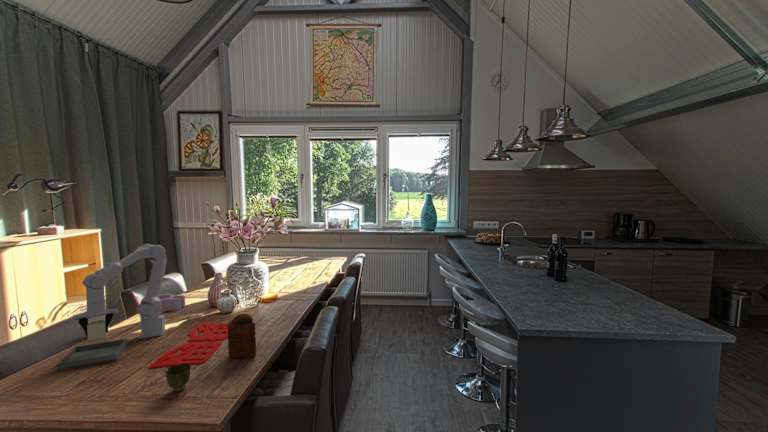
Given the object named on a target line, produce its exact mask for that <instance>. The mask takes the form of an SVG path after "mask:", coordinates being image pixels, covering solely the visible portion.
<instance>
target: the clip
mask: <svg viewBox="0 0 768 432" xmlns="http://www.w3.org/2000/svg"><path fill="white" fill-rule="evenodd" d="M159 298H160V300H161V307H162V311H161V312H167V311H172V312H173V311H175V312H176V311H179V310H182V308H186V295H184V294H177V295H176V294H171V293H165V294H159Z"/></svg>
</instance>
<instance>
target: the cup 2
mask: <svg viewBox="0 0 768 432" xmlns="http://www.w3.org/2000/svg"><path fill="white" fill-rule="evenodd" d="M191 367H192V365H191V364H188V363H187V365H186V363H181V364H180V365H178V364H177V365H176V366H175V365H172V366H168V368H167V370H165V371H164V373H165V376H166V382H167V385H168V386H169V387H170V388H171V389H172V391H173V392H174V393H180V392H182V391H183V390H184V389H186V385H187V384H188V383H189V380H190V378H191V377H190V376H191Z"/></svg>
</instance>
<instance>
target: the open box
mask: <svg viewBox="0 0 768 432" xmlns="http://www.w3.org/2000/svg"><path fill="white" fill-rule="evenodd" d="M87 333H88V336H87V343H89V342H90V343H91V342H95V341H102V340H105V339H107V335H108V332H106V322H105V319H101V320H95V321H92V320H91V321H88V325H87Z"/></svg>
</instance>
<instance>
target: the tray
mask: <svg viewBox="0 0 768 432" xmlns="http://www.w3.org/2000/svg"><path fill="white" fill-rule="evenodd" d="M127 346H128V338H123V339H122V338H121V339H116V340H110V341H101V342H96V343H95V342H94V343H87V344H84V345H83V344H82V345H76V346H74V347H73V348H72V349H71V350H69V352H68V353H67V354H65V356H63V358H62V359H61V360H59V361H58V362H57V372H62V371H67V370H73V369H80V368H85V367H91V366H96V365H97V366H98V365H101V364H102V365H103V364H107V363H108V364H109V363H113V362H114V363H115V362H117V361H118V360H119V358H120V357H121V355H122V354H123V352H124V351H125V350H126V348H127Z"/></svg>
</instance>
